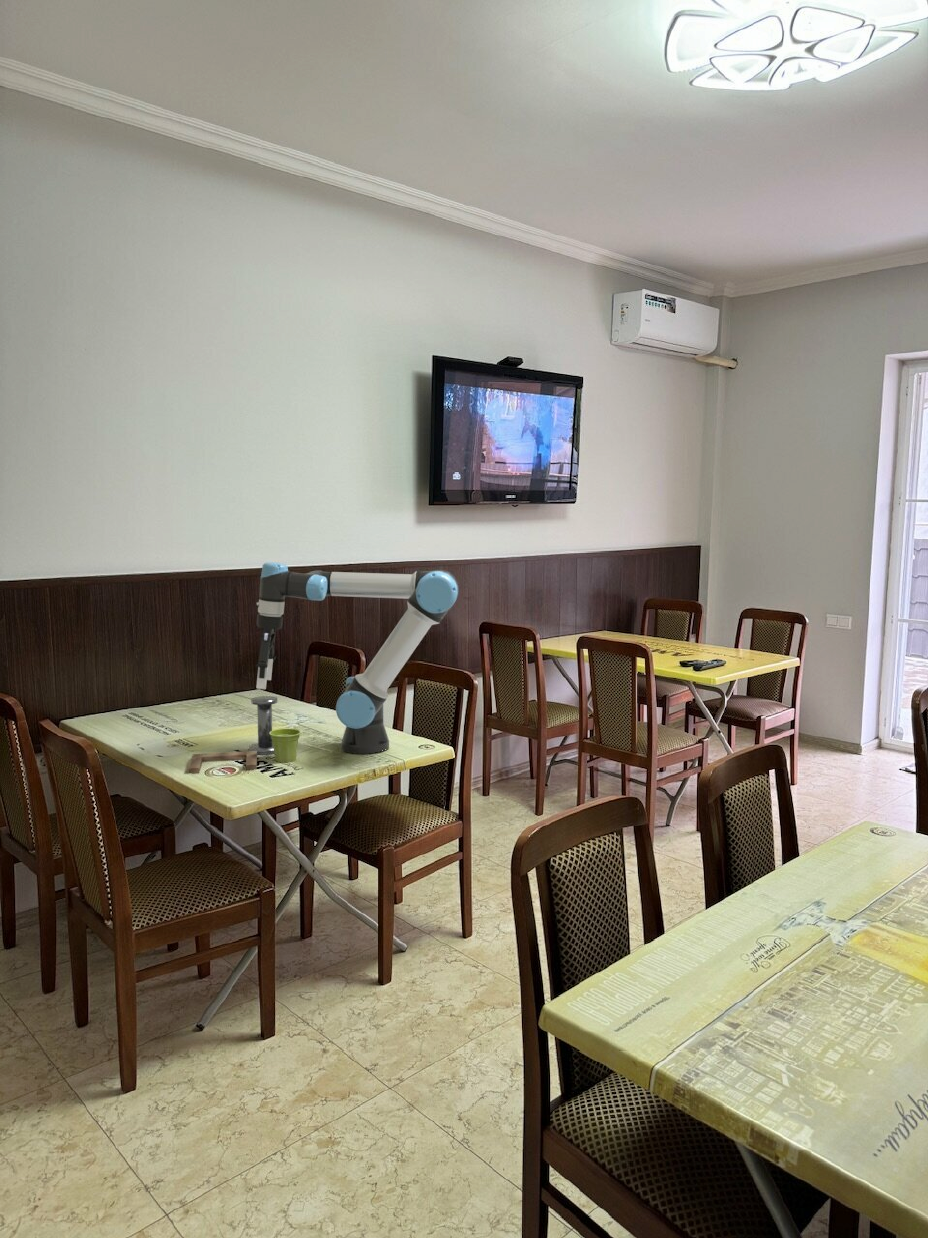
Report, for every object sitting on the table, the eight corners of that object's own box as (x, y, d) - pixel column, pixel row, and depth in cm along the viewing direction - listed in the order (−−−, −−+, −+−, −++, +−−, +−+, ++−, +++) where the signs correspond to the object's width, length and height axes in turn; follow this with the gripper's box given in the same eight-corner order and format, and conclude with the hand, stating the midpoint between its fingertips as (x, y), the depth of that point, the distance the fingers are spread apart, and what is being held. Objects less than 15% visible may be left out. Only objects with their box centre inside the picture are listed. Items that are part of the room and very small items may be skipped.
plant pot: (305, 756, 273) (304, 728, 272) (296, 764, 263) (295, 736, 262) (275, 755, 273) (274, 728, 272) (265, 764, 264) (265, 735, 263)
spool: (281, 746, 285) (280, 694, 283) (282, 754, 275) (280, 701, 273) (249, 747, 282) (248, 696, 281) (248, 756, 273) (247, 702, 271)
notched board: (257, 755, 273) (257, 750, 273) (256, 769, 258) (256, 764, 258) (192, 759, 269) (192, 754, 269) (188, 773, 254) (188, 768, 254)
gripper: (262, 608, 277) (256, 674, 280) (251, 618, 253) (245, 691, 255) (287, 610, 278) (280, 677, 281) (278, 621, 253) (271, 694, 256)
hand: (263, 684), depth 268 cm, fingers open, 13 cm apart
